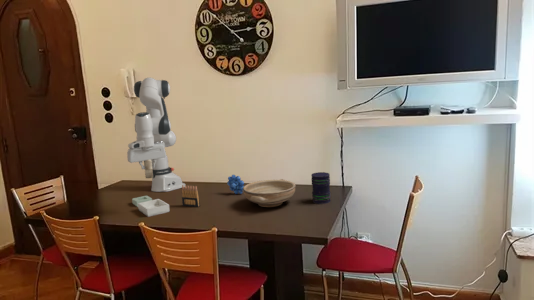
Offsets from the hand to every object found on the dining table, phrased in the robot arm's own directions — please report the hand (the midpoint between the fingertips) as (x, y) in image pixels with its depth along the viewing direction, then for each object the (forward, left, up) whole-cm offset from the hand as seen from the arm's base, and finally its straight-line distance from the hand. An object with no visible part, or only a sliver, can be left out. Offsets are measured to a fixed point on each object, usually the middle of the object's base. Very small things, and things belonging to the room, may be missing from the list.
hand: (148, 168), depth 226 cm
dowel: (0, 0, -5) cm, 5 cm away
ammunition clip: (-19, +8, -24) cm, 32 cm away
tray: (0, +1, -24) cm, 24 cm away
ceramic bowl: (-53, +37, -24) cm, 69 cm away
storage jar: (-75, +54, -24) cm, 95 cm away
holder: (0, -19, -24) cm, 31 cm away
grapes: (-49, +6, -24) cm, 55 cm away
